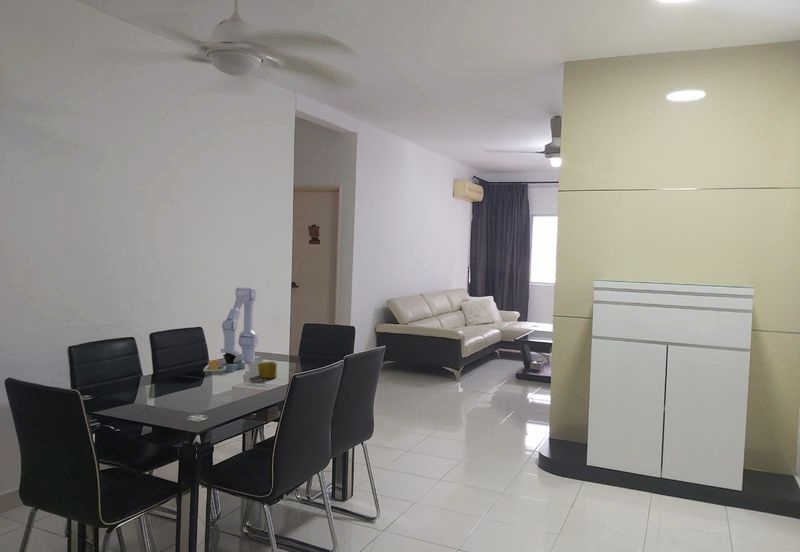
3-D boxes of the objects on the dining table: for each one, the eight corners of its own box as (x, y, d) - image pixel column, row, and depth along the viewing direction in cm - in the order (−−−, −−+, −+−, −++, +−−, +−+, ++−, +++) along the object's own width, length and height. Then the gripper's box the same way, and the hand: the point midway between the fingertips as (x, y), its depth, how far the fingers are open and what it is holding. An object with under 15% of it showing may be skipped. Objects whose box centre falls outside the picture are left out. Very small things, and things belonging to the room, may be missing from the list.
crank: (239, 367, 325) (239, 359, 325) (246, 368, 324) (246, 359, 323) (225, 371, 314) (225, 363, 314) (232, 372, 312) (232, 363, 312)
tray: (206, 369, 324) (206, 365, 324) (226, 368, 326) (226, 365, 325) (203, 373, 314) (203, 369, 313) (223, 372, 315) (224, 369, 315)
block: (218, 369, 322) (218, 360, 321) (217, 371, 318) (217, 361, 318) (210, 369, 321) (210, 360, 321) (209, 371, 317) (209, 361, 317)
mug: (277, 376, 299) (272, 357, 301) (258, 382, 300) (253, 363, 301) (284, 376, 311) (279, 357, 313) (265, 382, 312) (260, 363, 313)
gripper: (215, 341, 321) (215, 366, 321) (230, 344, 311) (230, 370, 312) (227, 340, 326) (227, 364, 326) (242, 343, 316) (242, 368, 317)
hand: (229, 367), depth 319 cm, fingers closed
